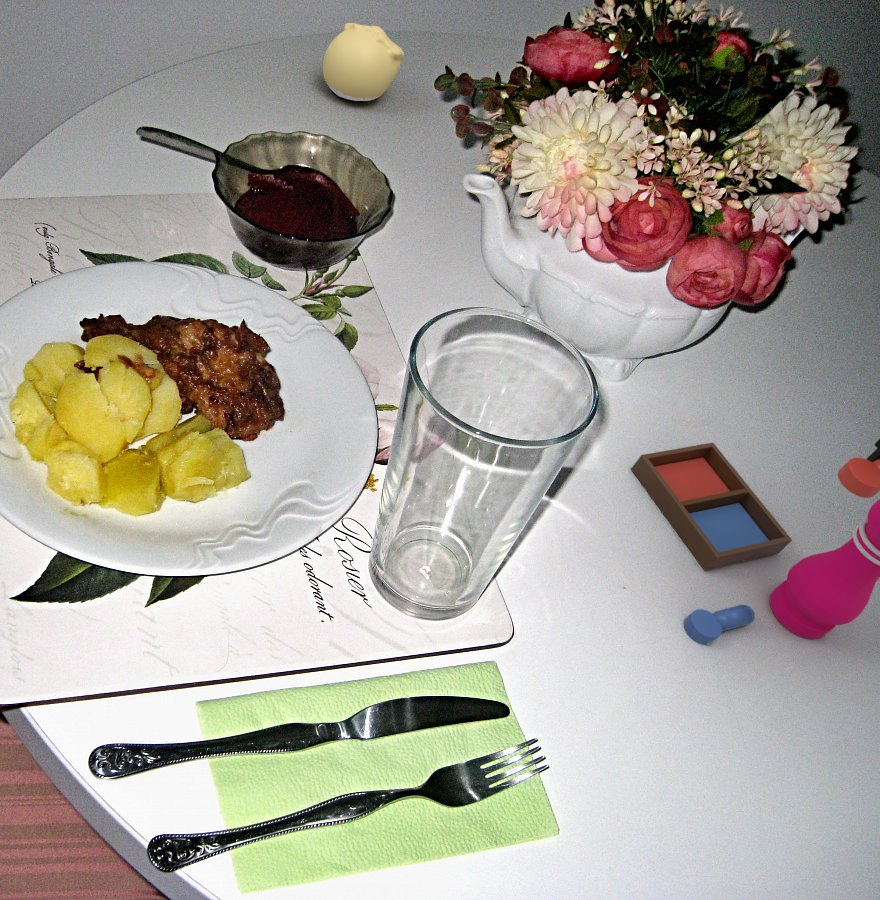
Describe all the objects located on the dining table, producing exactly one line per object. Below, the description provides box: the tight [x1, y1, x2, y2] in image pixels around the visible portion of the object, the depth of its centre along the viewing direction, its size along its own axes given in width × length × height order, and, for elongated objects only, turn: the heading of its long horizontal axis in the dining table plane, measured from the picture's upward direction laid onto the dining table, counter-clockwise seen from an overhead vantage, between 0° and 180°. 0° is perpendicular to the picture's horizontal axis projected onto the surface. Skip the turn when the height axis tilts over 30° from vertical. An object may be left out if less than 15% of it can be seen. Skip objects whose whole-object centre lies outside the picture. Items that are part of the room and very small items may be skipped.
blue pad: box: [689, 503, 769, 553], centre depth 98 cm, size 9×6×1 cm, turn 109°
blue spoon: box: [683, 604, 756, 645], centre depth 90 cm, size 8×3×2 cm, turn 109°
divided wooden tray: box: [630, 442, 793, 572], centre depth 100 cm, size 11×14×2 cm
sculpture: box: [322, 22, 405, 99], centre depth 146 cm, size 12×12×11 cm
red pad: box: [655, 458, 748, 513], centre depth 102 cm, size 10×7×2 cm
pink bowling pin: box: [769, 498, 880, 640], centre depth 86 cm, size 7×7×20 cm
